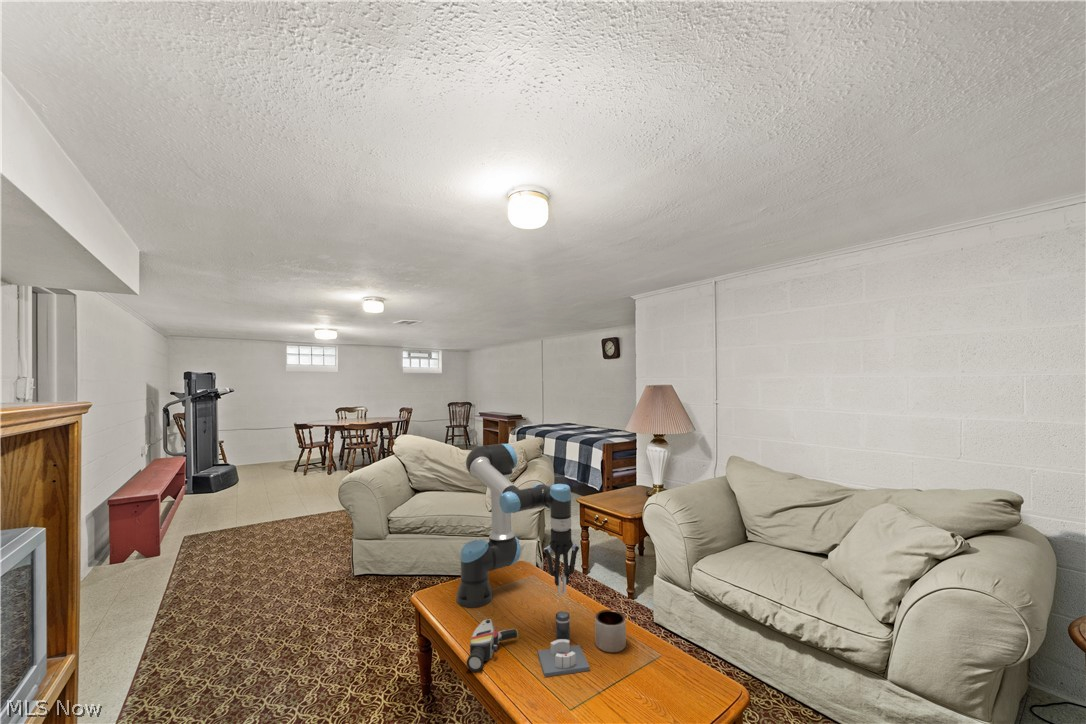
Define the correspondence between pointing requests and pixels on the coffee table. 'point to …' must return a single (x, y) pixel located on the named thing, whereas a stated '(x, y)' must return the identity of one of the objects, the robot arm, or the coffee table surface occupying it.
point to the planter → (610, 631)
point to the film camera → (486, 643)
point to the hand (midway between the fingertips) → (561, 593)
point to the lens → (562, 625)
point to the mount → (562, 659)
